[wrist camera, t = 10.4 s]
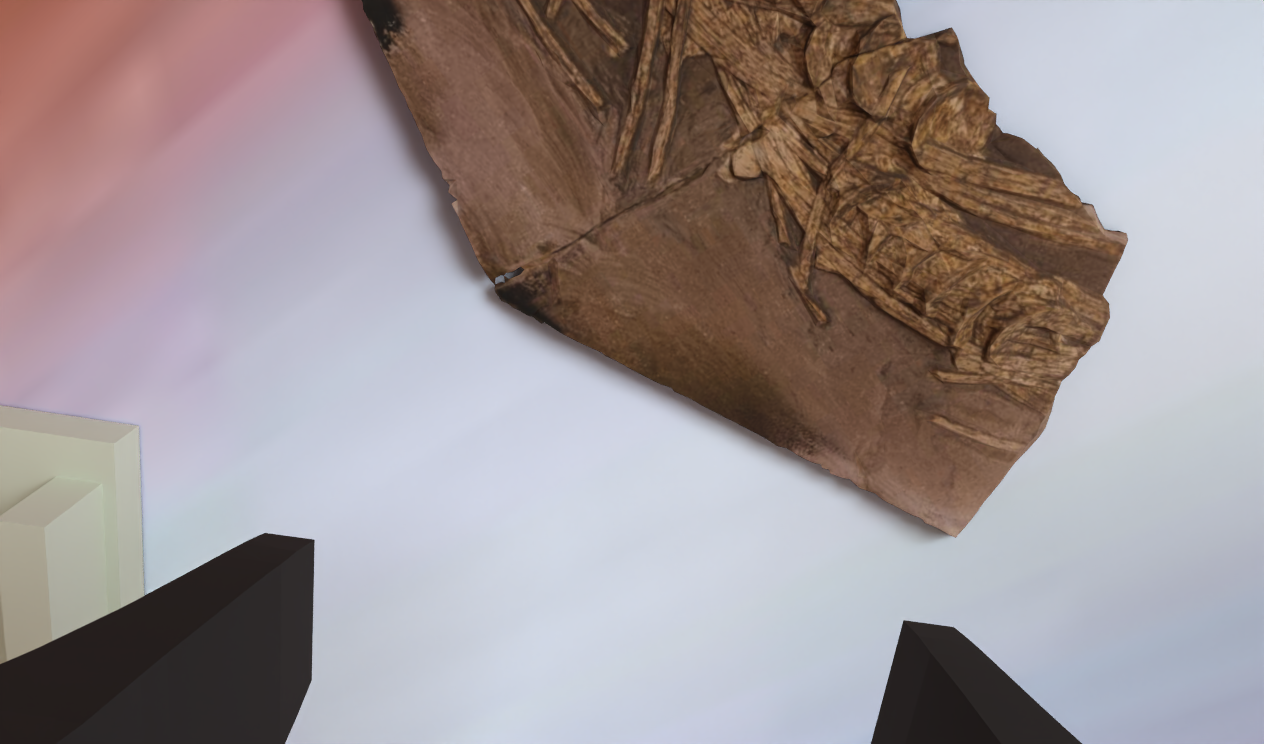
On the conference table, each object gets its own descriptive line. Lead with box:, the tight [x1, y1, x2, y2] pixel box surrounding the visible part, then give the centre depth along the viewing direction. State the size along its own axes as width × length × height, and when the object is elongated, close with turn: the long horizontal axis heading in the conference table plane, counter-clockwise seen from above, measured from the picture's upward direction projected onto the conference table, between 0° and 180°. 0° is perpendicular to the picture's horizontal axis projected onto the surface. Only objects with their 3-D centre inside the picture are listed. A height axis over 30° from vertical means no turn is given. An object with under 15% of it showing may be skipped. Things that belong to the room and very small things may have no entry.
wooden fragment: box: [362, 0, 1128, 538], centre depth 18 cm, size 26×11×1 cm, turn 35°
